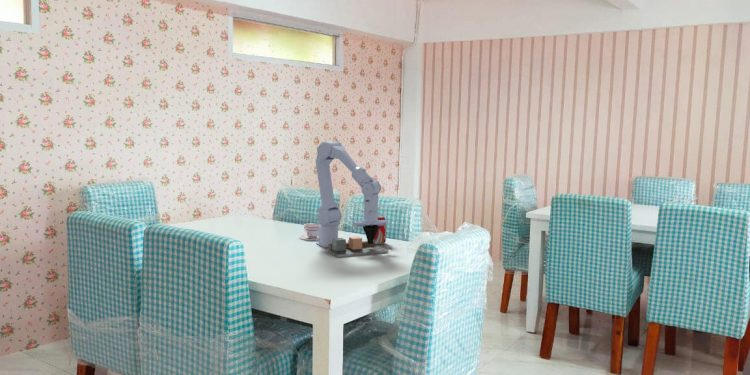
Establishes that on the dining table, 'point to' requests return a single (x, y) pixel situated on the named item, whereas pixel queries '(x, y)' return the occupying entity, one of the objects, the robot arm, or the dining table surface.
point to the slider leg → (355, 243)
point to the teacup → (310, 231)
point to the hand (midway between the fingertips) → (370, 243)
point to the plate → (364, 251)
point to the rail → (364, 244)
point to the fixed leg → (339, 245)
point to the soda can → (380, 232)
